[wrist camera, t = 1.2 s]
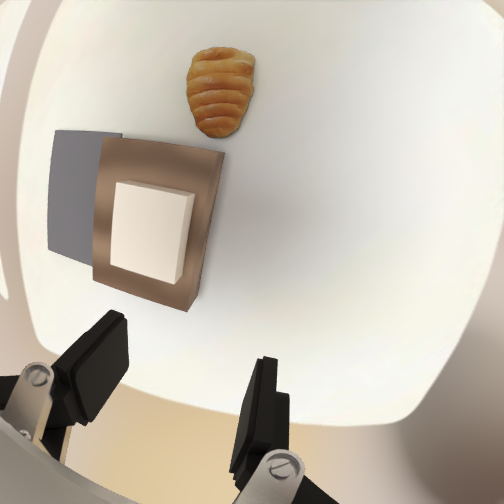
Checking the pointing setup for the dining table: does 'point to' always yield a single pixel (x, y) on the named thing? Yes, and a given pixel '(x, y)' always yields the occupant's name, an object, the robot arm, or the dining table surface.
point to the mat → (73, 192)
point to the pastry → (220, 89)
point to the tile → (150, 229)
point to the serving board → (165, 175)
